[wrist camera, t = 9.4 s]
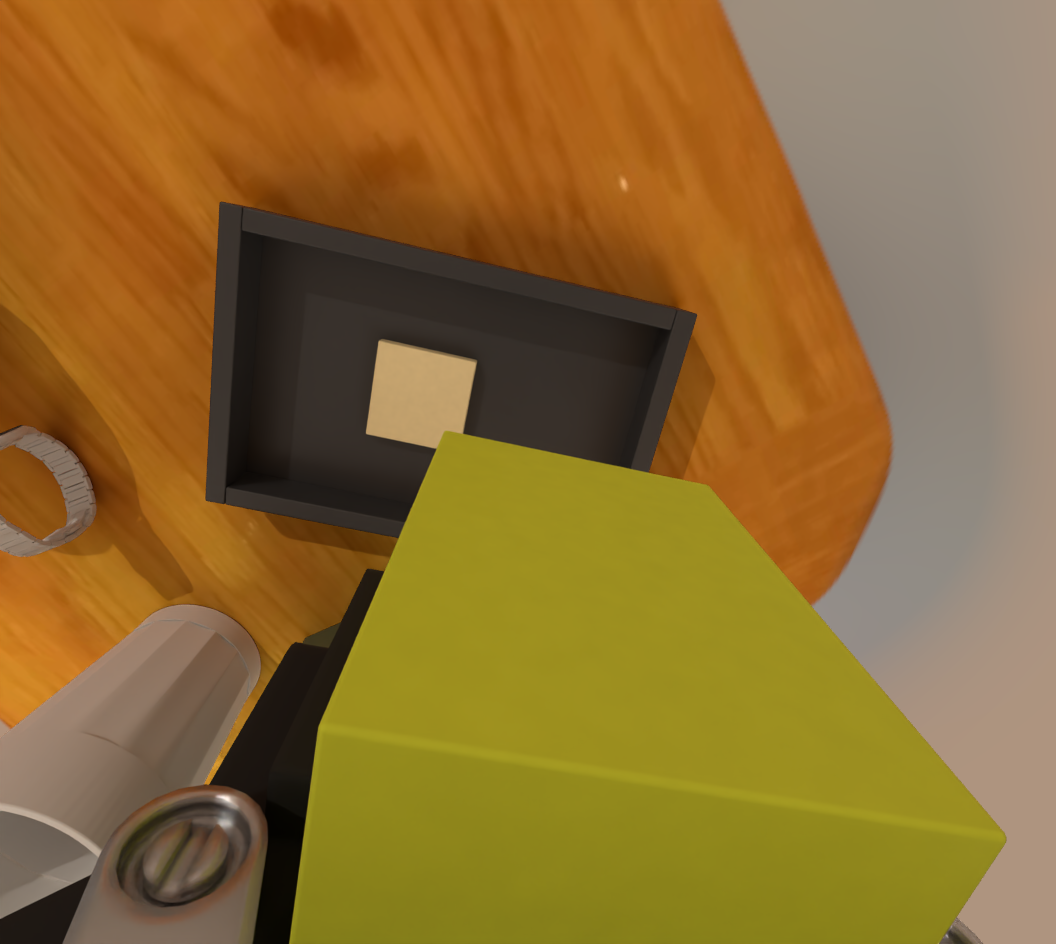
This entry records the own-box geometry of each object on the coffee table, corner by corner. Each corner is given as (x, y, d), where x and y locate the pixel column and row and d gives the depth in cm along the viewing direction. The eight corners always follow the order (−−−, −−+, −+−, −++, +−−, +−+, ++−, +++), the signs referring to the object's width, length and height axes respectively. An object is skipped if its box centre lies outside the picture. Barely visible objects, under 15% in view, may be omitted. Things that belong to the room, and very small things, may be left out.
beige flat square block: (477, 359, 25) (476, 362, 24) (459, 449, 26) (458, 453, 26) (381, 338, 24) (378, 340, 24) (368, 430, 26) (365, 434, 25)
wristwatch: (63, 409, 26) (-39, 443, 21) (128, 508, 27) (47, 560, 23) (7, 432, 26) (-105, 470, 22) (74, 528, 28) (-17, 584, 23)
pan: (680, 308, 25) (698, 314, 22) (607, 553, 29) (615, 581, 26) (250, 207, 23) (218, 200, 21) (233, 479, 27) (204, 501, 25)
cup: (295, 712, 31) (168, 965, 20) (148, 729, 32) (-58, 989, 20) (251, 580, 29) (77, 787, 18) (92, 600, 29) (-181, 816, 18)
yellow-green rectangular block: (710, 484, 10) (1013, 838, 4) (601, 795, 12) (686, 1332, 6) (444, 429, 10) (316, 726, 3) (383, 761, 12) (240, 1297, 6)
